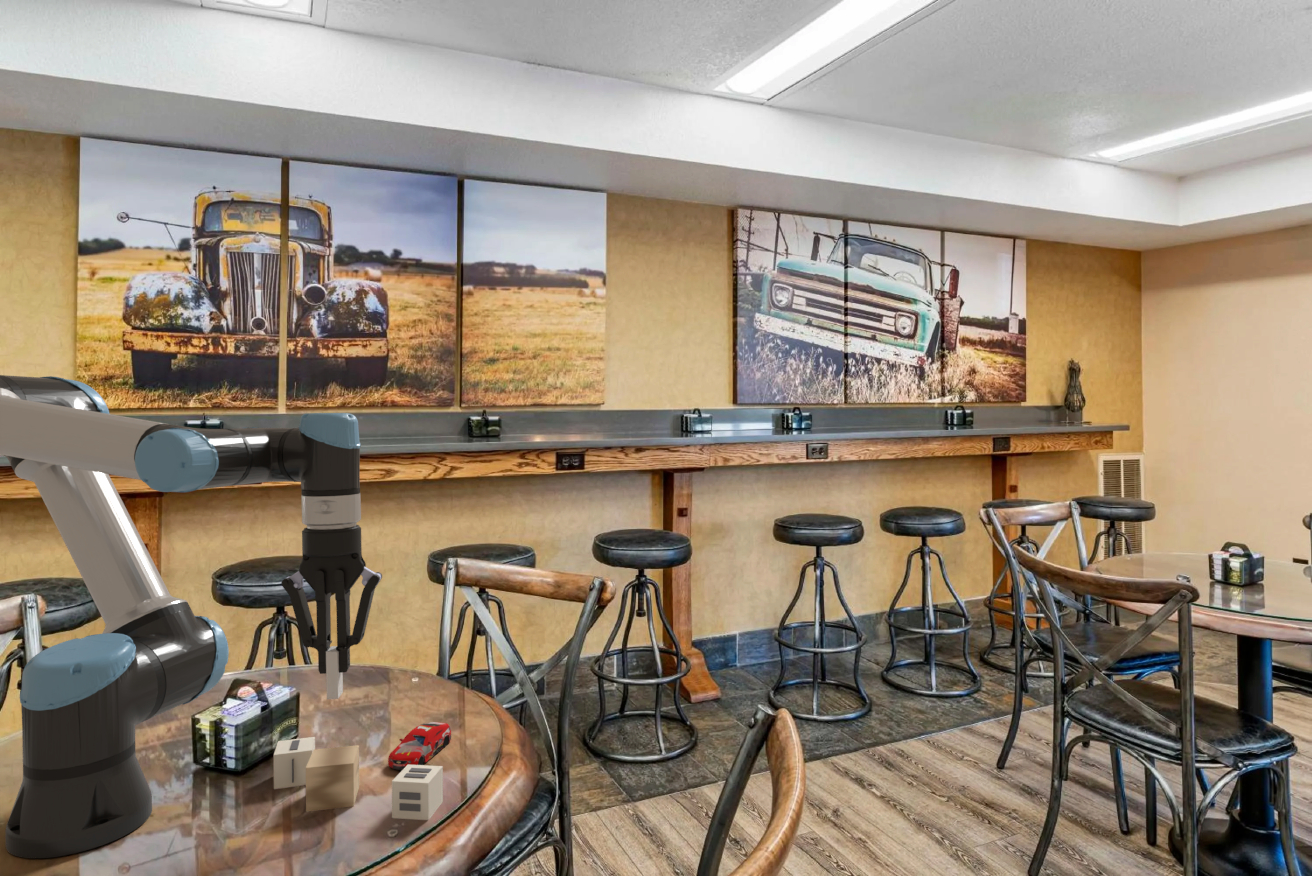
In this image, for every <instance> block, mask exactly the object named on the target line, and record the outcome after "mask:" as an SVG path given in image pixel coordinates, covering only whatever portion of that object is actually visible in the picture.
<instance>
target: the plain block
mask: <svg viewBox="0 0 1312 876" xmlns="http://www.w3.org/2000/svg"><path fill="white" fill-rule="evenodd" d="M359 789H360V744H359V745H357V744H356V745H346V746H337V747H335V746H334V747H326V748H315V749H314V750H313V753H312V755H311V757H310V759H309V762H308V764H307V766H306V785H305V812H306V813H307V812H315V811H324V810H334V809H342V808H350V807H355V803H356V800H357V796H358V792H359Z"/></svg>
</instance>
